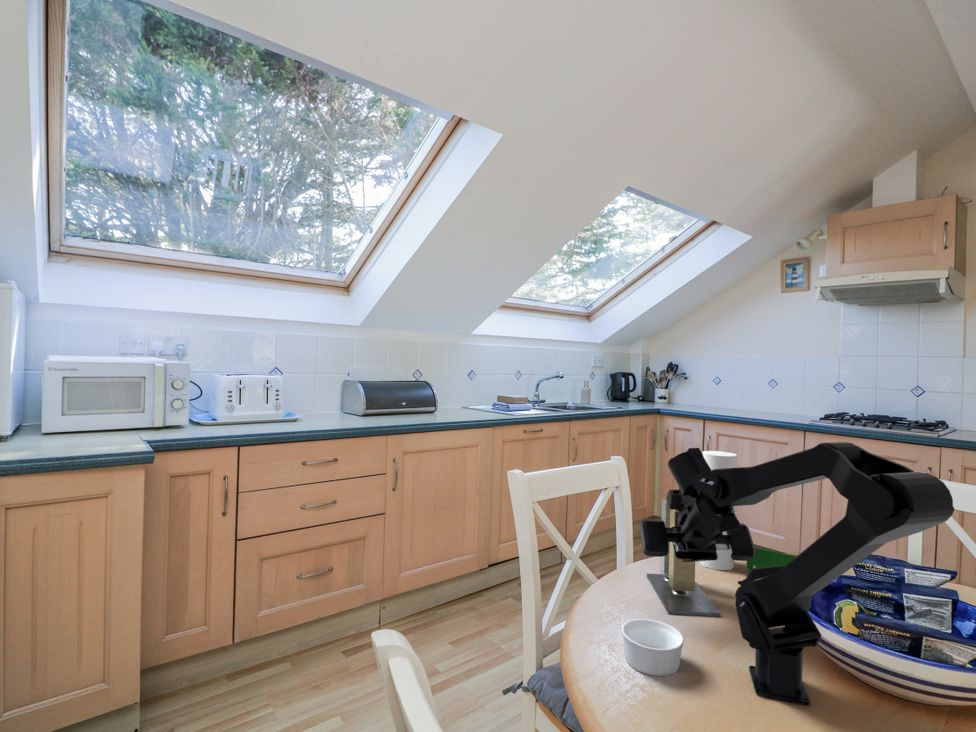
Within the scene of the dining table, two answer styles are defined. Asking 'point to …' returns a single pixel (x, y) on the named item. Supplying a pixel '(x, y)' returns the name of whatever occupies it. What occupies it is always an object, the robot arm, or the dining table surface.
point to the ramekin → (652, 646)
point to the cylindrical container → (730, 461)
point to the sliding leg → (679, 565)
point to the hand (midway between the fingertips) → (684, 559)
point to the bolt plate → (674, 599)
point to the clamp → (768, 559)
